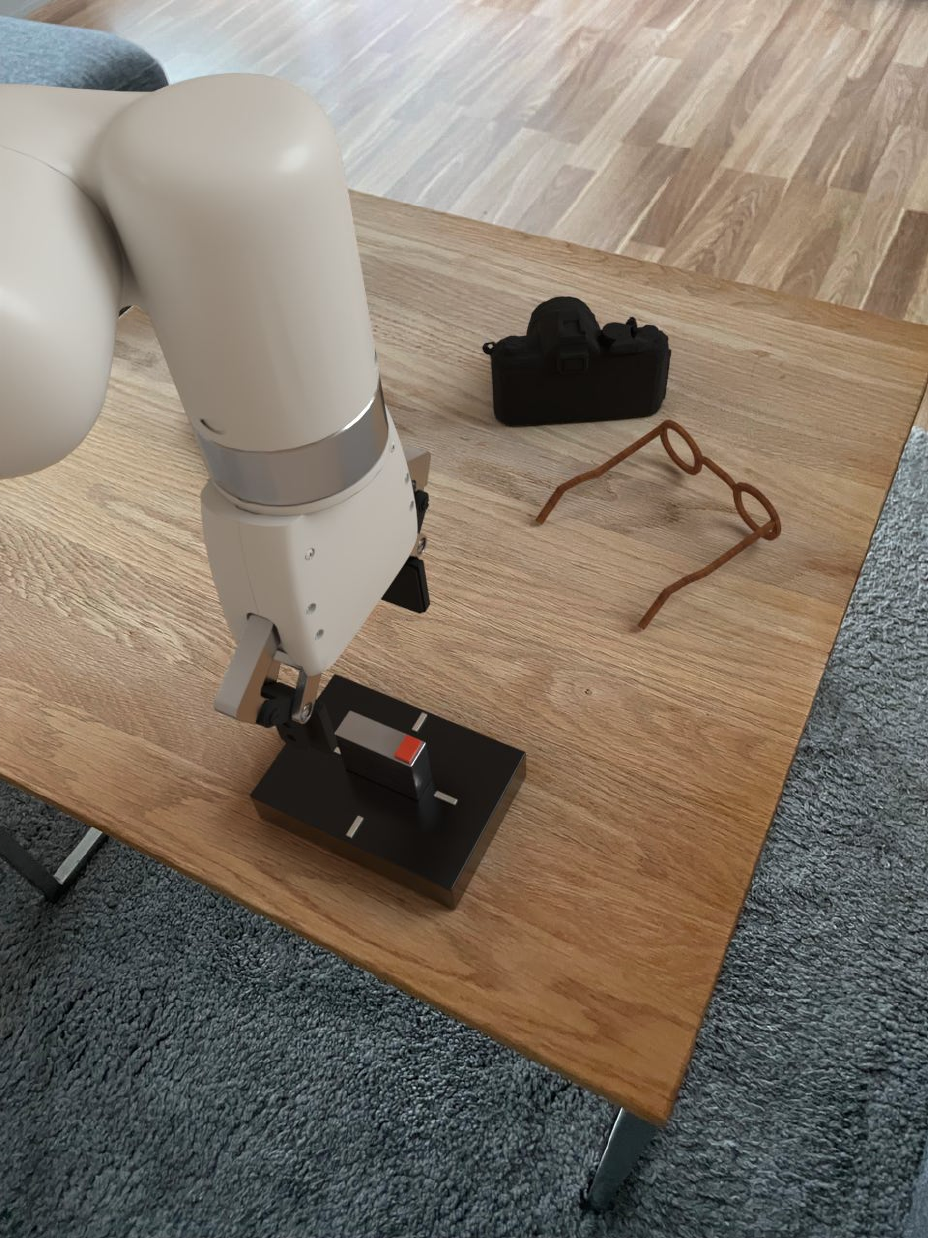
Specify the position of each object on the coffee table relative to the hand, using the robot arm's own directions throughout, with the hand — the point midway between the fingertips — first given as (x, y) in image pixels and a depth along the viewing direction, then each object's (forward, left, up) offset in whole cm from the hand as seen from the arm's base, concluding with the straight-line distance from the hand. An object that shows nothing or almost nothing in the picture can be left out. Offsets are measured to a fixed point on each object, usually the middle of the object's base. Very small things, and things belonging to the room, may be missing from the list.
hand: (358, 668), depth 54 cm
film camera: (+22, +34, -14) cm, 43 cm away
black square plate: (0, 0, -14) cm, 14 cm away
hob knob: (0, 0, -11) cm, 11 cm away
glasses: (+23, +16, -14) cm, 32 cm away
